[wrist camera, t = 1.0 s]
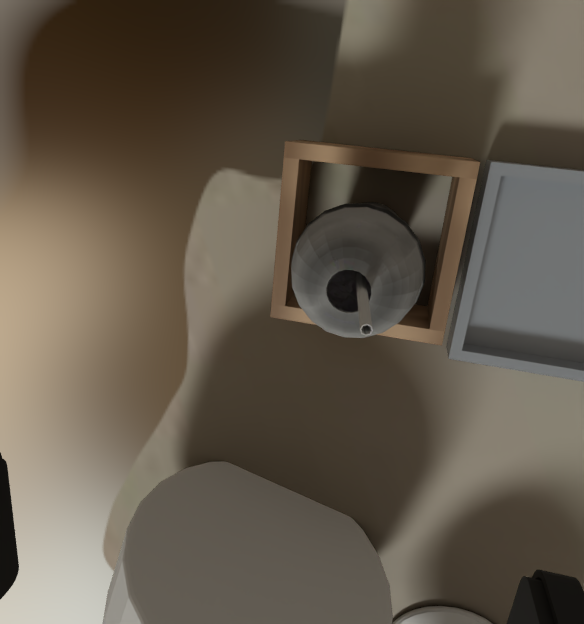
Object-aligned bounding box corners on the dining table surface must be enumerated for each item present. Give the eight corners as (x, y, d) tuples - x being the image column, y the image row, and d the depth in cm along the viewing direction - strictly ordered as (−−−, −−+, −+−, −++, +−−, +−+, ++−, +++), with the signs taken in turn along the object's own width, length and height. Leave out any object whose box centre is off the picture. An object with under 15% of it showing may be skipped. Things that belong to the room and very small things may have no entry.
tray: (713, 184, 34) (733, 187, 31) (642, 379, 38) (656, 393, 36) (486, 159, 36) (491, 161, 34) (446, 346, 41) (448, 358, 39)
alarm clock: (163, 500, 52) (28, 703, 33) (183, 442, 49) (47, 628, 31) (364, 592, 50) (338, 858, 32) (396, 537, 47) (388, 794, 29)
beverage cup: (329, 176, 38) (254, 219, 20) (430, 189, 37) (450, 248, 19) (317, 271, 41) (239, 388, 22) (411, 287, 40) (412, 423, 21)
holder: (471, 158, 36) (480, 162, 31) (438, 320, 40) (441, 345, 36) (300, 139, 38) (285, 141, 33) (285, 296, 42) (270, 317, 37)
